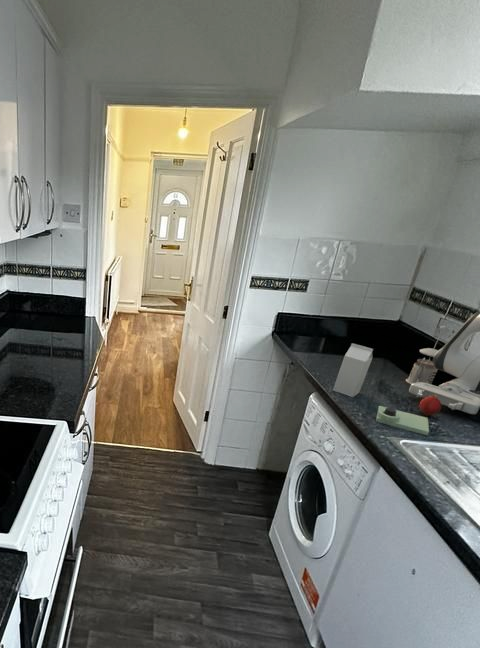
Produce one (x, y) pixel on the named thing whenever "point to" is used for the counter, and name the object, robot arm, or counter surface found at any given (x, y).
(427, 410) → the onion
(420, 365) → the french press
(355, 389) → the milk carton
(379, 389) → the counter surface
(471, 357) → the robot arm
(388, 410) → the tare button
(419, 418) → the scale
